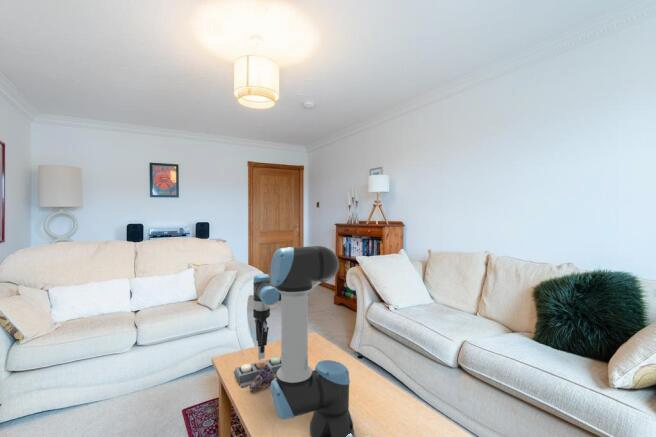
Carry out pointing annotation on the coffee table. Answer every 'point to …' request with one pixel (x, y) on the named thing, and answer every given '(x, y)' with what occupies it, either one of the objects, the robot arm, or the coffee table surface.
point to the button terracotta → (260, 364)
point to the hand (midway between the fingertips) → (261, 358)
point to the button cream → (245, 368)
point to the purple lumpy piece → (262, 379)
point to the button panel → (253, 373)
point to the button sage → (275, 361)
